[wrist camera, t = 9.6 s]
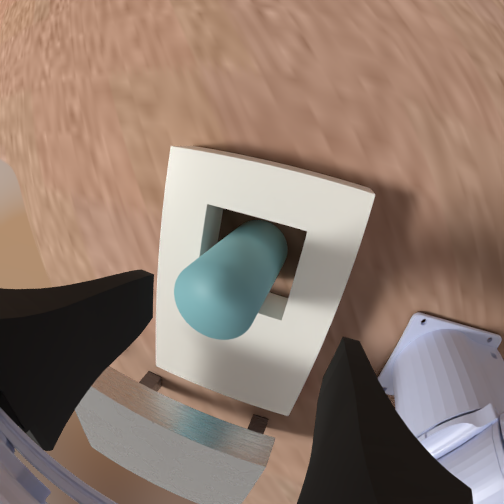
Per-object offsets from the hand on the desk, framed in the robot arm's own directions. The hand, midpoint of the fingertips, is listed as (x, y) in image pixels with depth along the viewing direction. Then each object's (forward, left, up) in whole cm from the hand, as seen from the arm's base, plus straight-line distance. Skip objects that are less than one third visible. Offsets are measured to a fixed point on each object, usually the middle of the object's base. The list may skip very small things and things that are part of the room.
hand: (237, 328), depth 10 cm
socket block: (+2, +4, -10) cm, 11 cm away
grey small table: (+4, +14, -10) cm, 18 cm away
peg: (+2, +1, -10) cm, 11 cm away
